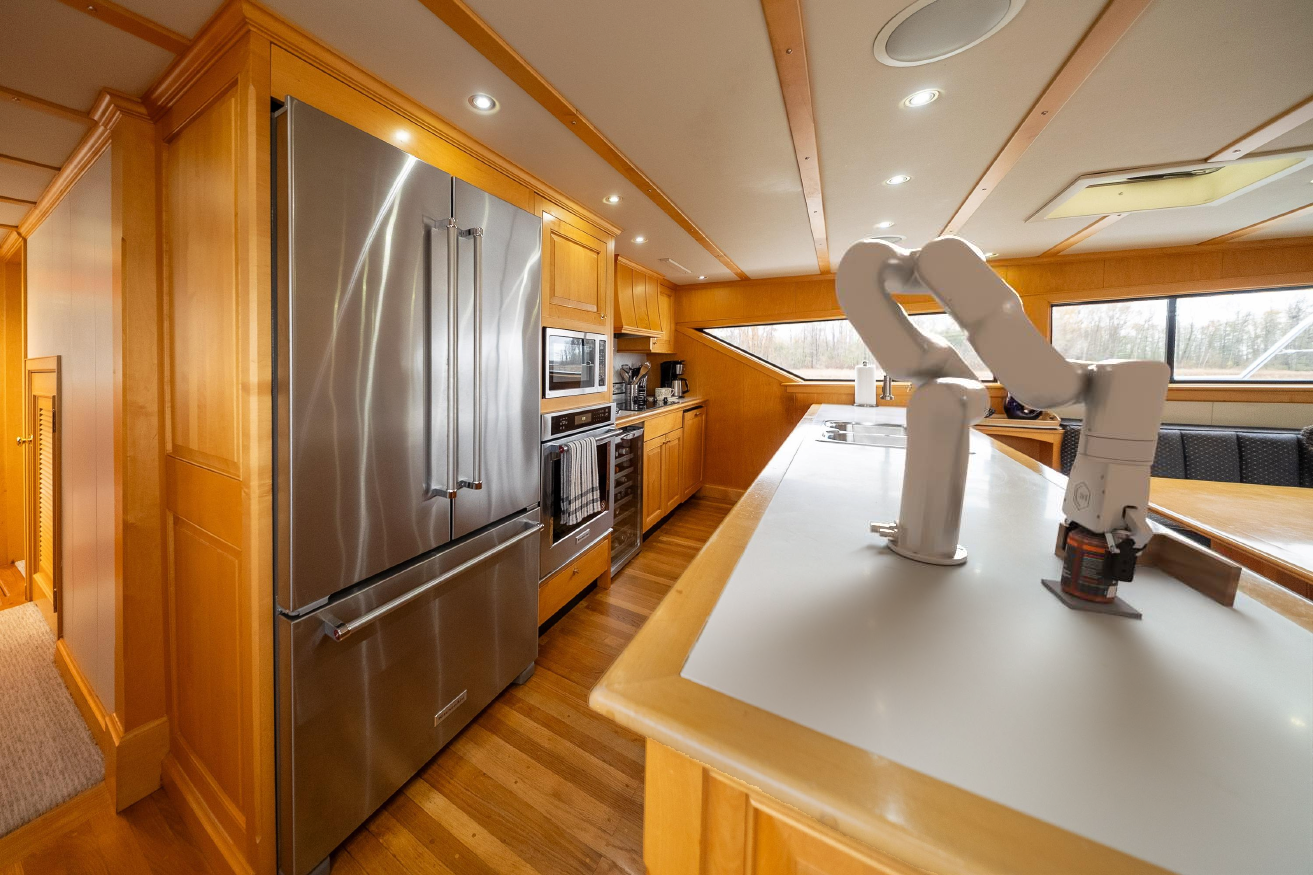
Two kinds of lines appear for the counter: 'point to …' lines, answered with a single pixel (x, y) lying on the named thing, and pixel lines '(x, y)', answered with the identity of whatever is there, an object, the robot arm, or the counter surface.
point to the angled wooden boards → (1184, 565)
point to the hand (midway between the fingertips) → (1093, 565)
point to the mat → (1091, 602)
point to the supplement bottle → (1087, 566)
